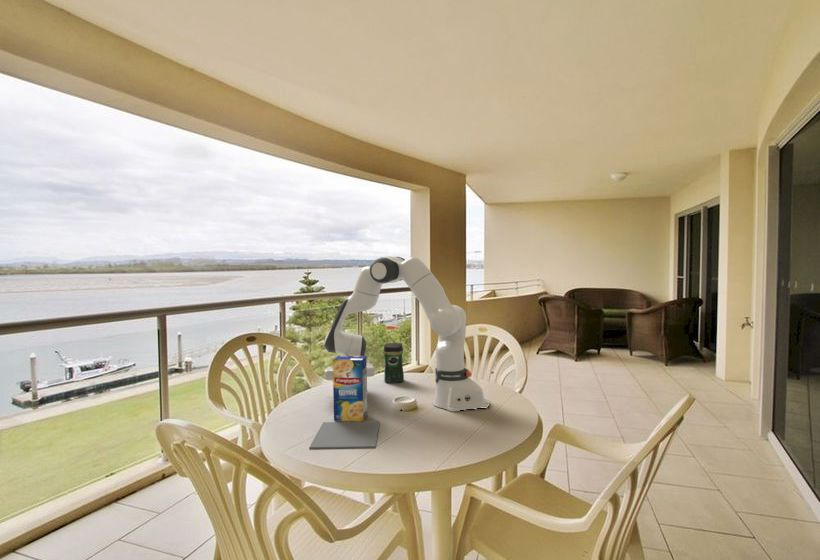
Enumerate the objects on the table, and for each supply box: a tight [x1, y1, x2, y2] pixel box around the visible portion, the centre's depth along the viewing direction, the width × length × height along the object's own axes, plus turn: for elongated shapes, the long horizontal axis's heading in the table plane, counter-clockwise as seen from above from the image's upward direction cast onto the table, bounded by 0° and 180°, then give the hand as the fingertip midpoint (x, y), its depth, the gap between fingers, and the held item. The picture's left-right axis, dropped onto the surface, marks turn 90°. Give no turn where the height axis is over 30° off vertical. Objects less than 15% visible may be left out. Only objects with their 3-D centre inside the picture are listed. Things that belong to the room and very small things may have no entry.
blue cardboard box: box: [332, 355, 369, 422], centre depth 140 cm, size 7×11×22 cm, turn 84°
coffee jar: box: [383, 342, 405, 384], centre depth 185 cm, size 10×8×19 cm
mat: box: [309, 420, 381, 450], centre depth 126 cm, size 20×19×1 cm
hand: (349, 377), depth 151 cm, fingers closed
